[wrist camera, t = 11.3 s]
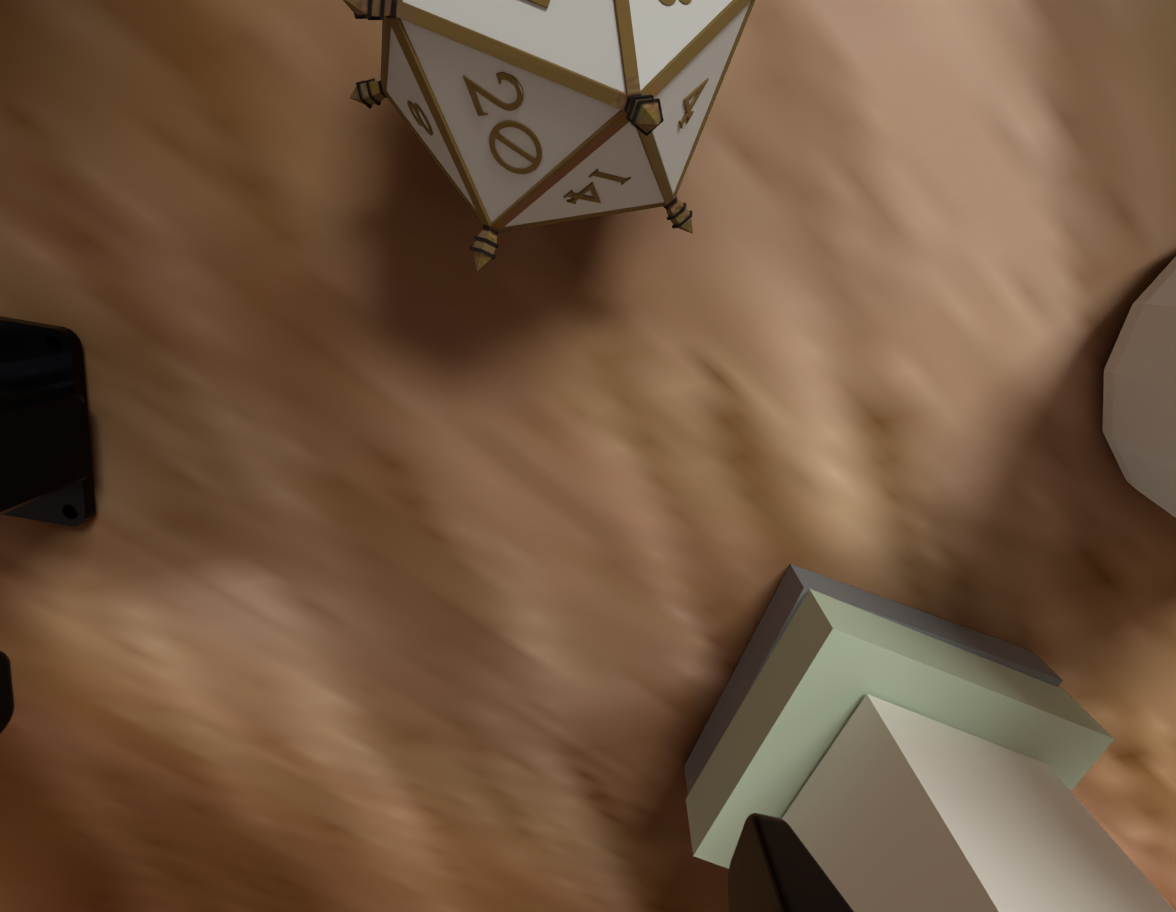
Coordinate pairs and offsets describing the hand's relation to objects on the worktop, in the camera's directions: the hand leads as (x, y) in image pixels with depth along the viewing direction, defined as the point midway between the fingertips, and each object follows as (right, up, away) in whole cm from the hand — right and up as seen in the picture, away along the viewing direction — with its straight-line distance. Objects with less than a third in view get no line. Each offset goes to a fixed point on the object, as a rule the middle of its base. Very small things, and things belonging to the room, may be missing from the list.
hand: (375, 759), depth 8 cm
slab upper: (+12, -6, +14) cm, 19 cm away
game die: (+2, +14, +10) cm, 17 cm away
